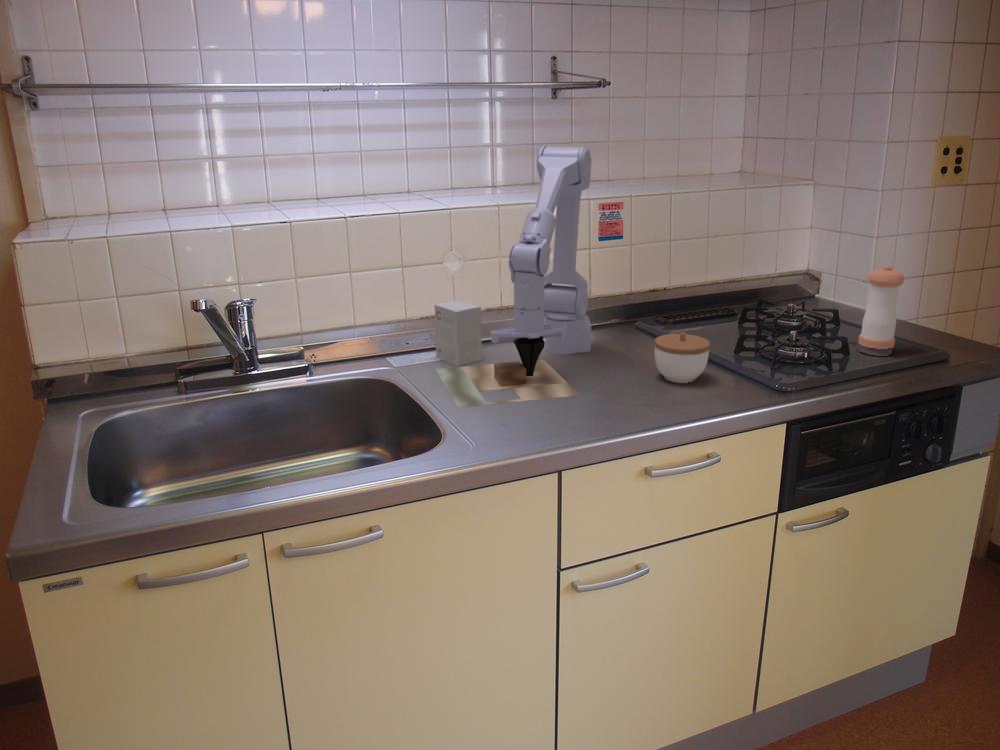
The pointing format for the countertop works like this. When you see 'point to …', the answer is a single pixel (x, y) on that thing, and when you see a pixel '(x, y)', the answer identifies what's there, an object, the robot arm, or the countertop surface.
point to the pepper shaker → (881, 309)
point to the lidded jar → (681, 356)
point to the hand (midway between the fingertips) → (528, 374)
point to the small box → (458, 332)
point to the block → (510, 373)
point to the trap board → (478, 378)
